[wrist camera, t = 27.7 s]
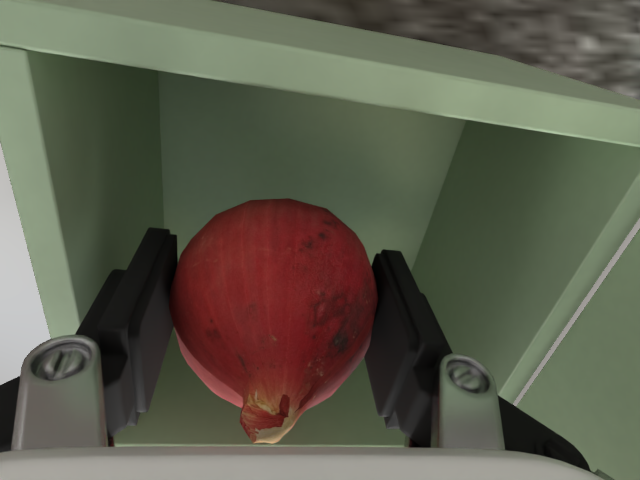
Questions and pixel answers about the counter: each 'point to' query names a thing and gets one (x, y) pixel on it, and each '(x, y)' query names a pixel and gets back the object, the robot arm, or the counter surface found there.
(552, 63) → the counter surface
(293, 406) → the onion
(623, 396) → the lid
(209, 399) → the chest
